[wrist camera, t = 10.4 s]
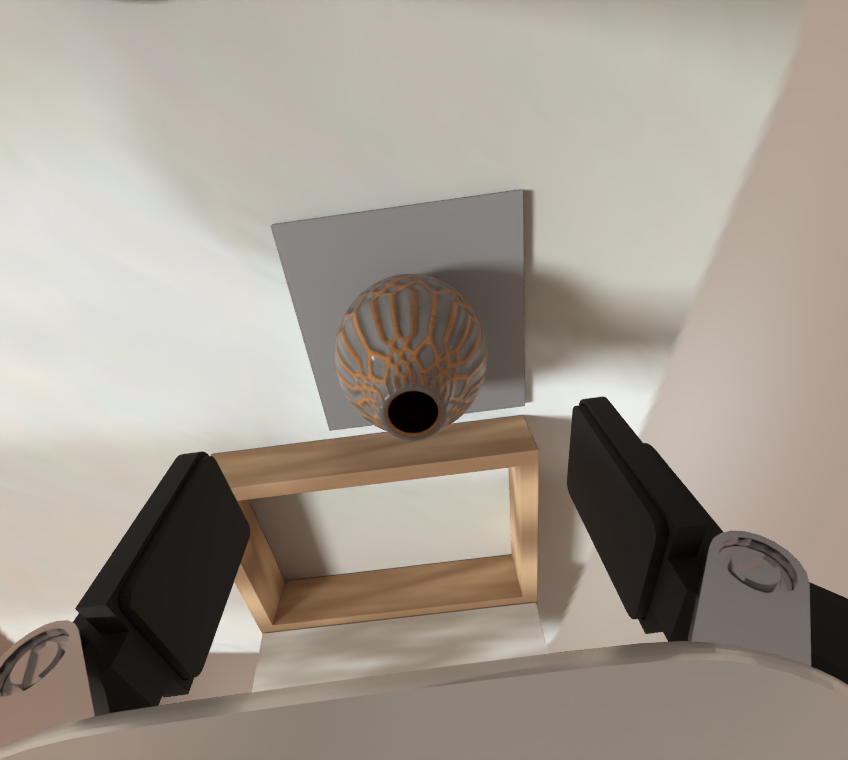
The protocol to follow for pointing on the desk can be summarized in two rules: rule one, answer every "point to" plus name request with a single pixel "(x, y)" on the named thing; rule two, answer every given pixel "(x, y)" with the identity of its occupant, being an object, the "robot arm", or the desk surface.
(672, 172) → the desk surface
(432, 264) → the mat
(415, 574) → the frame
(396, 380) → the vase
